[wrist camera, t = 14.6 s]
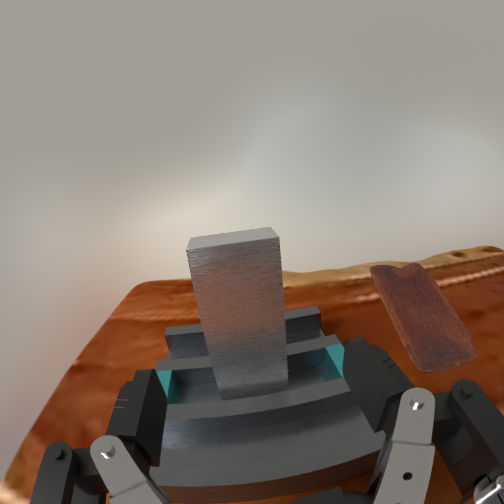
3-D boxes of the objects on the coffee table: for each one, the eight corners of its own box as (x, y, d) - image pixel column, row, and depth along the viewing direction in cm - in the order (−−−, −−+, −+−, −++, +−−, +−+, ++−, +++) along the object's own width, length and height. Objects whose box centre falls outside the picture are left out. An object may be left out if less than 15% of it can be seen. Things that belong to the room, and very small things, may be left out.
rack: (316, 332, 29) (316, 305, 28) (388, 463, 12) (402, 439, 11) (174, 353, 28) (166, 327, 27) (154, 501, 11) (132, 483, 10)
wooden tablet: (367, 271, 45) (367, 262, 44) (418, 268, 42) (419, 259, 42) (405, 381, 20) (409, 368, 20) (485, 365, 18) (491, 353, 17)
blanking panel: (282, 379, 21) (270, 227, 17) (288, 400, 19) (279, 237, 15) (223, 389, 21) (190, 237, 17) (224, 410, 18) (186, 249, 14)
